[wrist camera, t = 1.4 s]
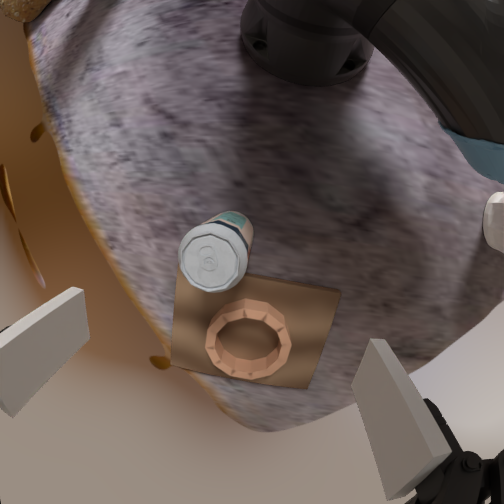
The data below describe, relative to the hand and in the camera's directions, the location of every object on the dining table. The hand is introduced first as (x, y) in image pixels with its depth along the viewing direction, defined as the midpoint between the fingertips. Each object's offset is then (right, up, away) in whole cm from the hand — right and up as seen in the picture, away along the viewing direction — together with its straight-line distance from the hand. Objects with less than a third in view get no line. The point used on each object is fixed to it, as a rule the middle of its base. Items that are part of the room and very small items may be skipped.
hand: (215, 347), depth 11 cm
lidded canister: (-1, +6, +18) cm, 19 cm away
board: (+1, -5, +21) cm, 21 cm away
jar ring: (+1, -6, +19) cm, 20 cm away
